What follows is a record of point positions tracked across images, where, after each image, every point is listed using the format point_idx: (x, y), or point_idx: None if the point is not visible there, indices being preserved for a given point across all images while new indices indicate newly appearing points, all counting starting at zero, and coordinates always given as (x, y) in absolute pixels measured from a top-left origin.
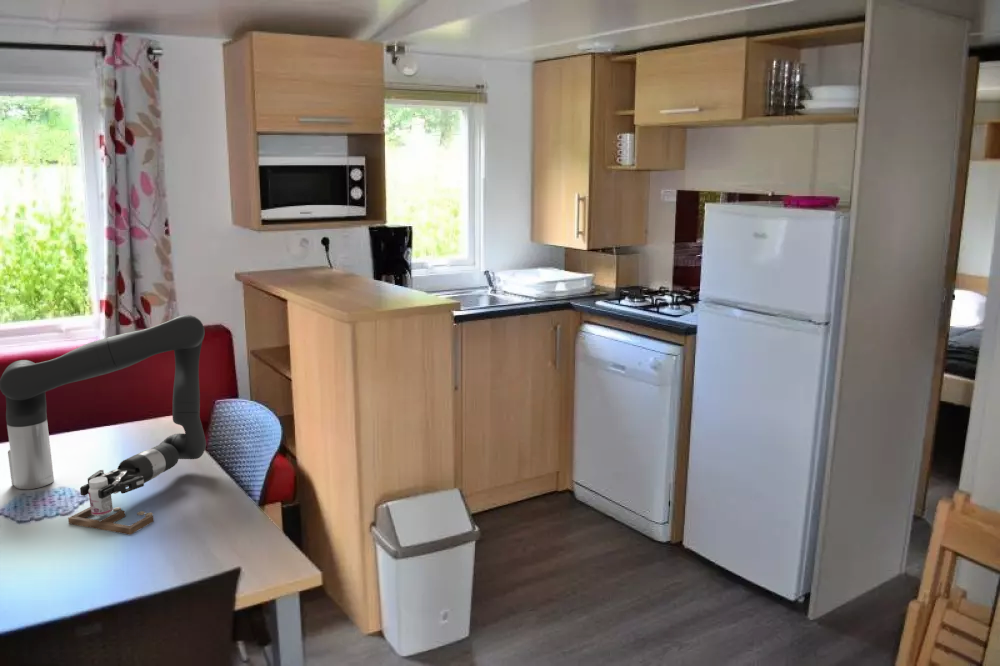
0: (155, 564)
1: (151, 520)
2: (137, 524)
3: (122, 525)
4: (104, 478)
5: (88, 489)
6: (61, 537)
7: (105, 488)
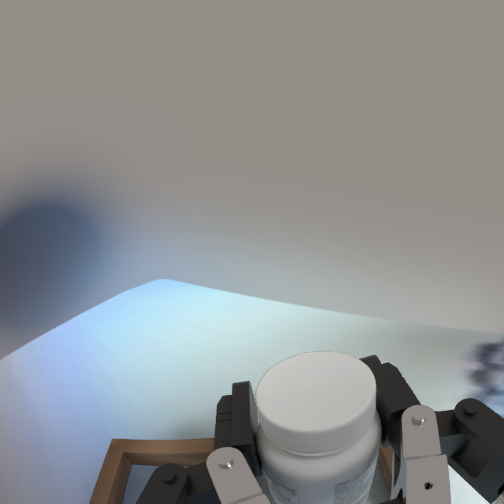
0: (36, 375)
1: None
2: (103, 464)
3: (146, 448)
4: (290, 412)
5: None
6: None
7: (231, 406)
